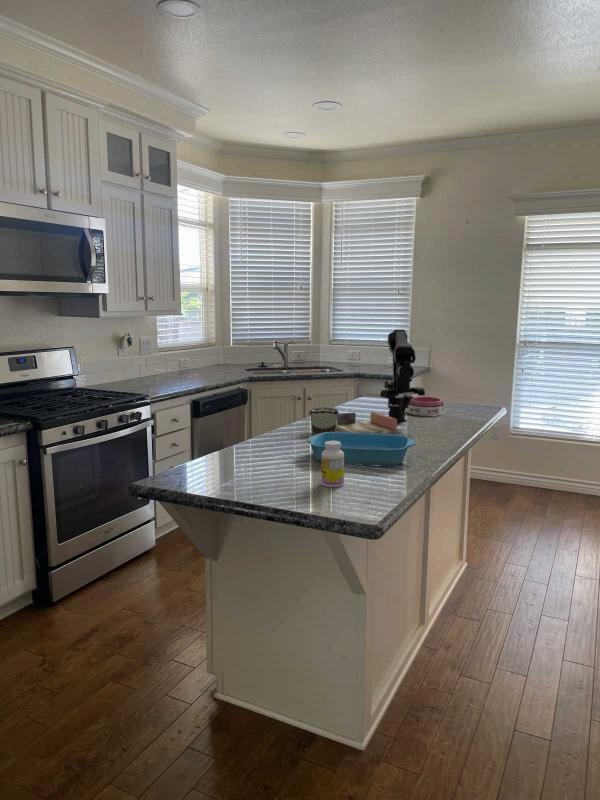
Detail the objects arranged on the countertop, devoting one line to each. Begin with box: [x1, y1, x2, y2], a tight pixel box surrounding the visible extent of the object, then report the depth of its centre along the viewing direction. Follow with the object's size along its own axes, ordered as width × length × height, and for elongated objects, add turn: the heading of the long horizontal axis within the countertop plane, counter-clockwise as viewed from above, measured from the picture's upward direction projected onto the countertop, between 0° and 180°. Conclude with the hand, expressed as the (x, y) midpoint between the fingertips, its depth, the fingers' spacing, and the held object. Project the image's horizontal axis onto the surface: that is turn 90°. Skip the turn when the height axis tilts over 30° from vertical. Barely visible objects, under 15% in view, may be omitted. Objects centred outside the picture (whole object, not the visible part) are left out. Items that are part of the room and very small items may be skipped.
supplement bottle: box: [320, 441, 345, 488], centre depth 174 cm, size 7×7×13 cm
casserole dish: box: [306, 431, 416, 467], centre depth 203 cm, size 37×22×7 cm, turn 76°
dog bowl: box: [405, 396, 446, 416], centre depth 285 cm, size 18×19×7 cm
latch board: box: [336, 412, 403, 434], centre depth 247 cm, size 22×20×6 cm
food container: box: [308, 407, 340, 435], centre depth 243 cm, size 12×6×10 cm, turn 84°
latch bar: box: [369, 411, 398, 429], centre depth 249 cm, size 17×3×4 cm, turn 25°
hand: (402, 413), depth 247 cm, fingers closed
